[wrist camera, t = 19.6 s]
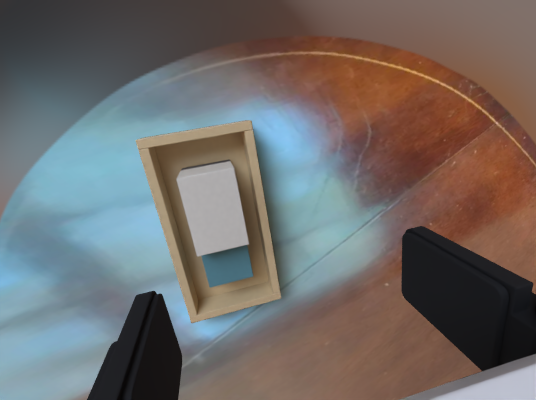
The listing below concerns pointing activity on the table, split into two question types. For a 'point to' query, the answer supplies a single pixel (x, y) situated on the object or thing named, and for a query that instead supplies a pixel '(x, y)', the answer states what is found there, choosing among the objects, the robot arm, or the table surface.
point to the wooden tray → (176, 225)
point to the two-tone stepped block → (216, 220)
